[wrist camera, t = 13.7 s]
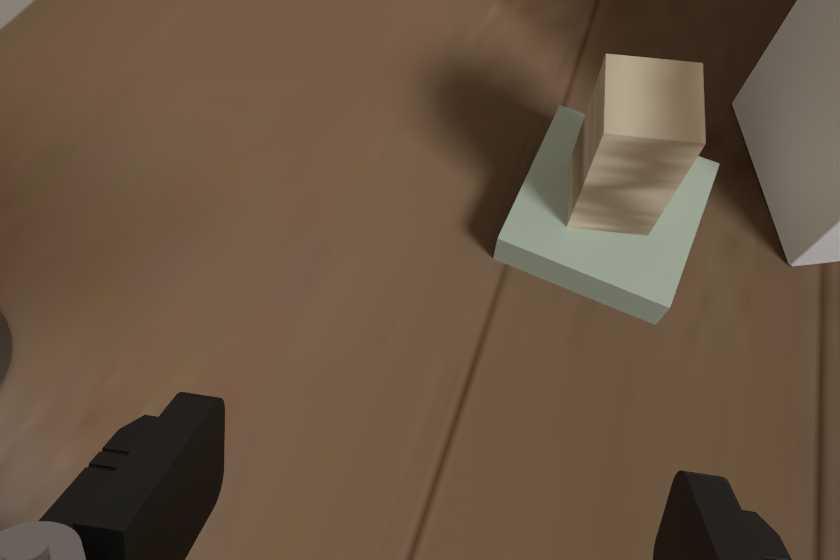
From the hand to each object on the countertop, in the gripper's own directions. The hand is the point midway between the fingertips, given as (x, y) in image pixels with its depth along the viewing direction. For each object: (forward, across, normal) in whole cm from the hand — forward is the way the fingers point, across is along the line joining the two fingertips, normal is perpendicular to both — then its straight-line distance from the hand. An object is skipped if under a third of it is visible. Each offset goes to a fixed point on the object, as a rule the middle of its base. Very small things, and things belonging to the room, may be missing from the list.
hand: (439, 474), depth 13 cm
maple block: (+35, -8, +3) cm, 36 cm away
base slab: (+38, -9, +6) cm, 39 cm away
